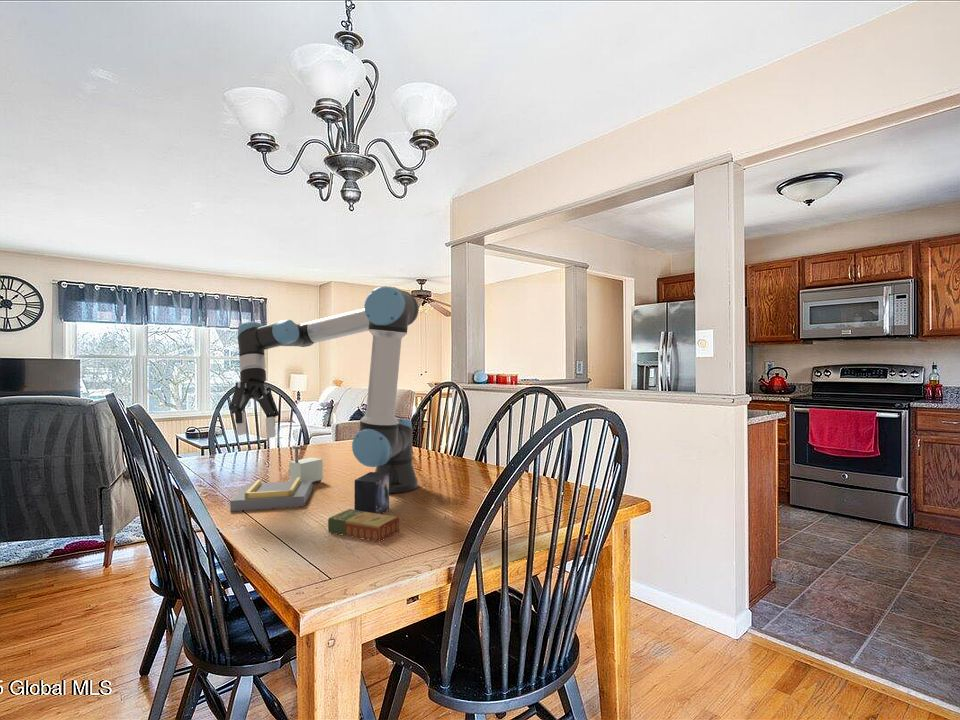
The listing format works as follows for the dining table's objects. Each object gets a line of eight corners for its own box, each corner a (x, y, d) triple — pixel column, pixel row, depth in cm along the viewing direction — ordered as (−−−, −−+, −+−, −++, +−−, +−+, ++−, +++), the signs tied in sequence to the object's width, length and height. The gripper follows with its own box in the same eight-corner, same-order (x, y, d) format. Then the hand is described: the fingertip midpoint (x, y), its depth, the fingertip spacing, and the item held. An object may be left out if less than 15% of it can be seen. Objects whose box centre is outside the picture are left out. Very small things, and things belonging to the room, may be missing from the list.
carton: (379, 544, 122) (378, 525, 122) (327, 534, 129) (326, 516, 129) (399, 532, 129) (399, 515, 129) (349, 523, 136) (349, 507, 136)
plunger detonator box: (322, 482, 181) (322, 443, 180) (301, 487, 173) (300, 447, 173) (311, 479, 184) (311, 441, 184) (289, 485, 176) (289, 445, 176)
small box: (376, 520, 138) (375, 481, 138) (353, 518, 140) (352, 480, 139) (390, 508, 149) (390, 472, 148) (369, 507, 150) (368, 471, 150)
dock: (312, 489, 171) (312, 475, 171) (304, 506, 151) (303, 491, 151) (247, 493, 167) (247, 479, 167) (230, 511, 147) (230, 495, 147)
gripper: (267, 379, 178) (272, 440, 172) (213, 365, 154) (216, 435, 149) (286, 374, 176) (291, 436, 171) (235, 359, 153) (239, 430, 147)
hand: (257, 436), depth 160 cm, fingers open, 13 cm apart
